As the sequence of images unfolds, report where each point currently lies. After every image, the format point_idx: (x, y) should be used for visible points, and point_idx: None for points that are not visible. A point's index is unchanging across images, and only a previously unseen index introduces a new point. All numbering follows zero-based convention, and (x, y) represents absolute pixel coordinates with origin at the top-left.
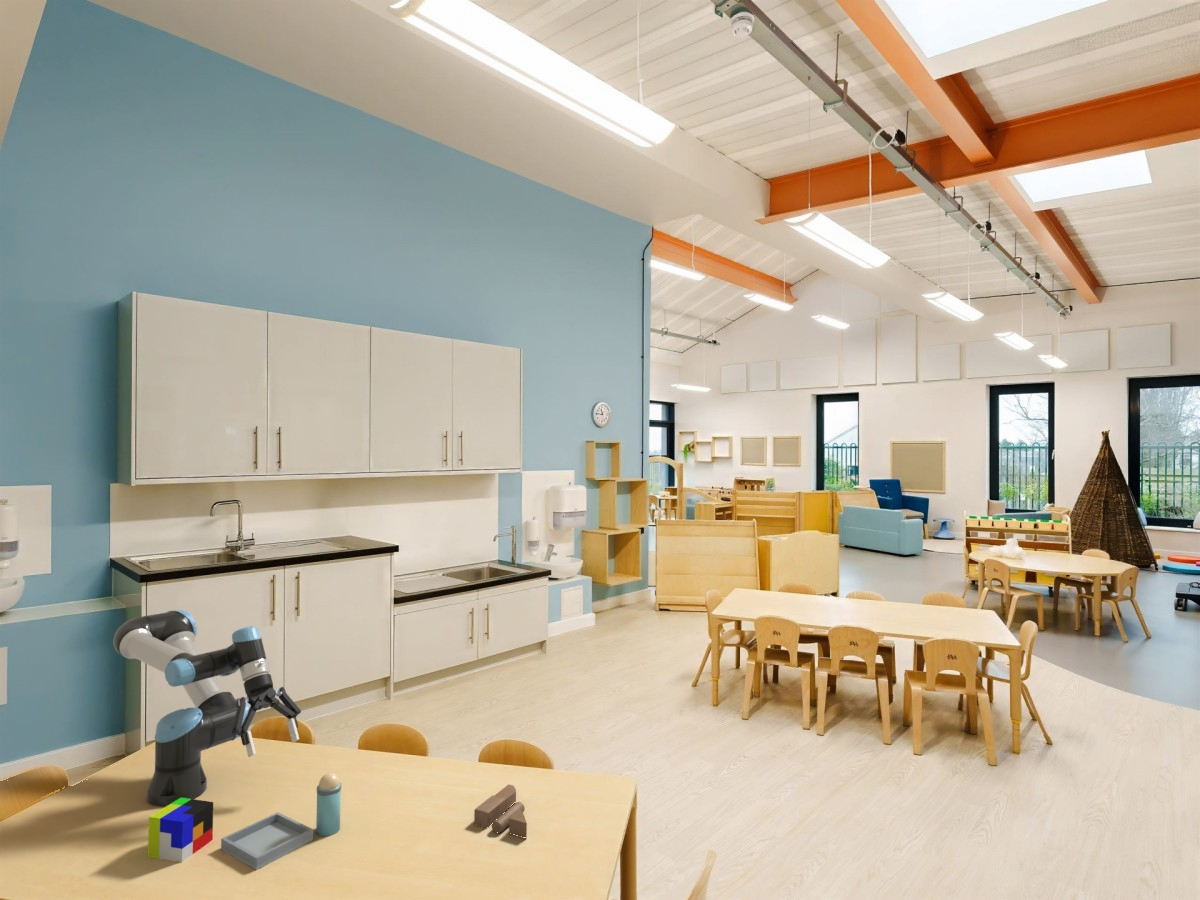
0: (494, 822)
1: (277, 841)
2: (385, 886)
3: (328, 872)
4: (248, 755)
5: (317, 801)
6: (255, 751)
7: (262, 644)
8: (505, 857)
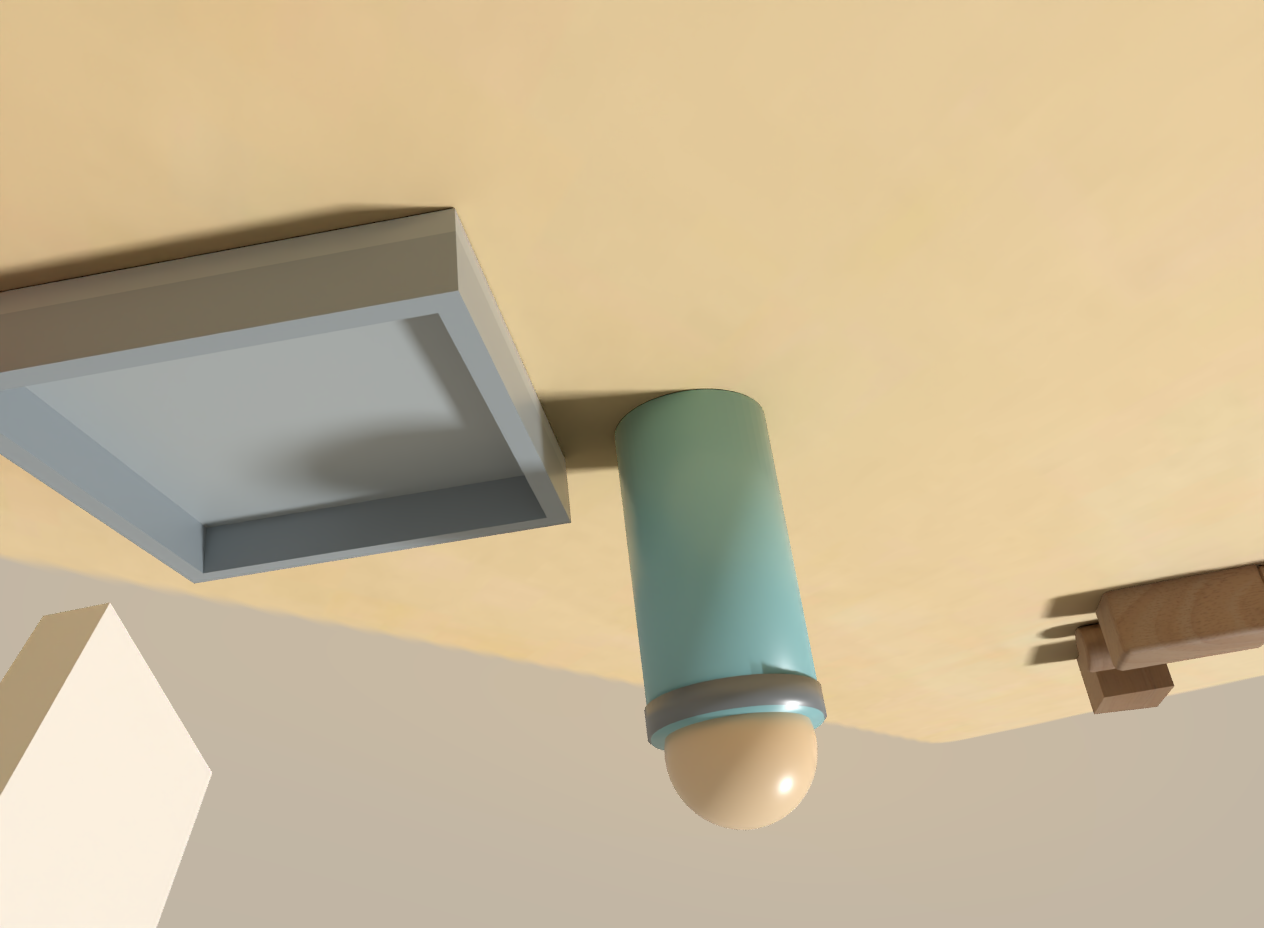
0: (1088, 664)
1: (362, 436)
2: (617, 670)
3: (501, 604)
4: (36, 660)
5: (641, 644)
6: (197, 812)
7: None
8: (954, 678)
